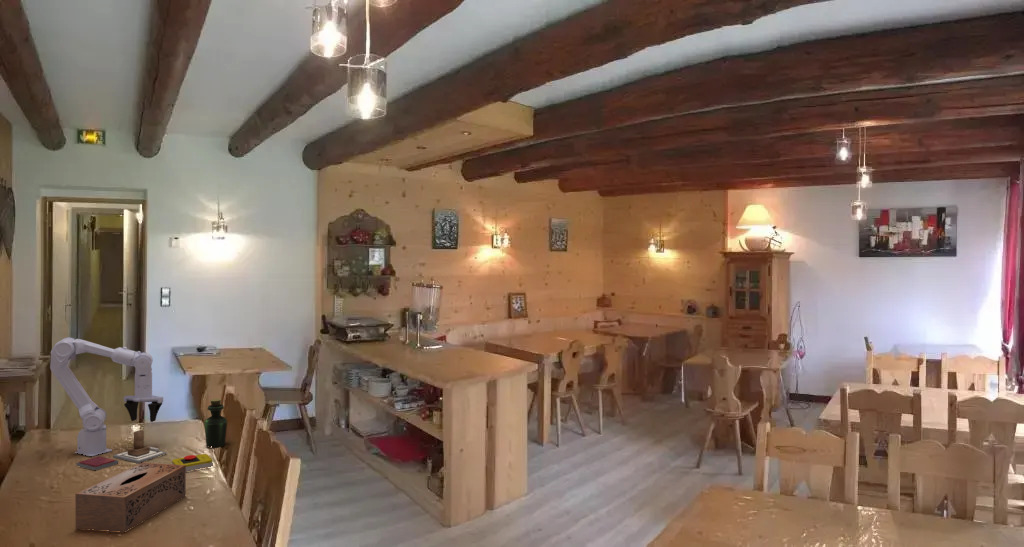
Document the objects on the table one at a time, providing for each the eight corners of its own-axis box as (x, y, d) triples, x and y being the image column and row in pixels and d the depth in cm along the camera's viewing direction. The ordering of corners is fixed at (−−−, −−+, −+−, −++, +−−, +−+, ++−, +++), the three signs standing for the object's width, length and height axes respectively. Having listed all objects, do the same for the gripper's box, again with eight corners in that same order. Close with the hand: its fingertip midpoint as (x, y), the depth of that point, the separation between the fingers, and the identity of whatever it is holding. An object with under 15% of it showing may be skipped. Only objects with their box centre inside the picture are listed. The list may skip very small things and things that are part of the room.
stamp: (127, 455, 228) (127, 432, 228) (140, 451, 233) (140, 429, 233) (136, 457, 226) (136, 434, 226) (149, 453, 231) (149, 430, 231)
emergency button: (166, 456, 219) (212, 448, 228) (166, 469, 219) (212, 460, 228) (172, 464, 212) (219, 455, 221) (172, 477, 212) (219, 467, 221)
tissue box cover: (142, 494, 196) (142, 462, 196) (185, 497, 194) (185, 465, 194) (75, 530, 170) (75, 493, 170) (124, 534, 169) (124, 497, 168)
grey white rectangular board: (112, 457, 228) (112, 453, 228) (141, 449, 238) (141, 444, 238) (138, 463, 222) (138, 459, 222) (166, 454, 232) (166, 450, 232)
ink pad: (76, 466, 218) (76, 462, 218) (99, 459, 226) (99, 455, 226) (94, 470, 214) (94, 466, 214) (117, 463, 222) (117, 459, 222)
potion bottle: (202, 449, 239) (202, 402, 238) (206, 443, 247) (206, 397, 246) (225, 448, 241) (225, 401, 240) (228, 442, 249) (228, 397, 248)
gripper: (117, 386, 236) (118, 422, 236) (154, 388, 234) (154, 424, 235) (130, 383, 243) (130, 417, 243) (166, 384, 241) (166, 419, 242)
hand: (143, 420), depth 239 cm, fingers open, 7 cm apart
